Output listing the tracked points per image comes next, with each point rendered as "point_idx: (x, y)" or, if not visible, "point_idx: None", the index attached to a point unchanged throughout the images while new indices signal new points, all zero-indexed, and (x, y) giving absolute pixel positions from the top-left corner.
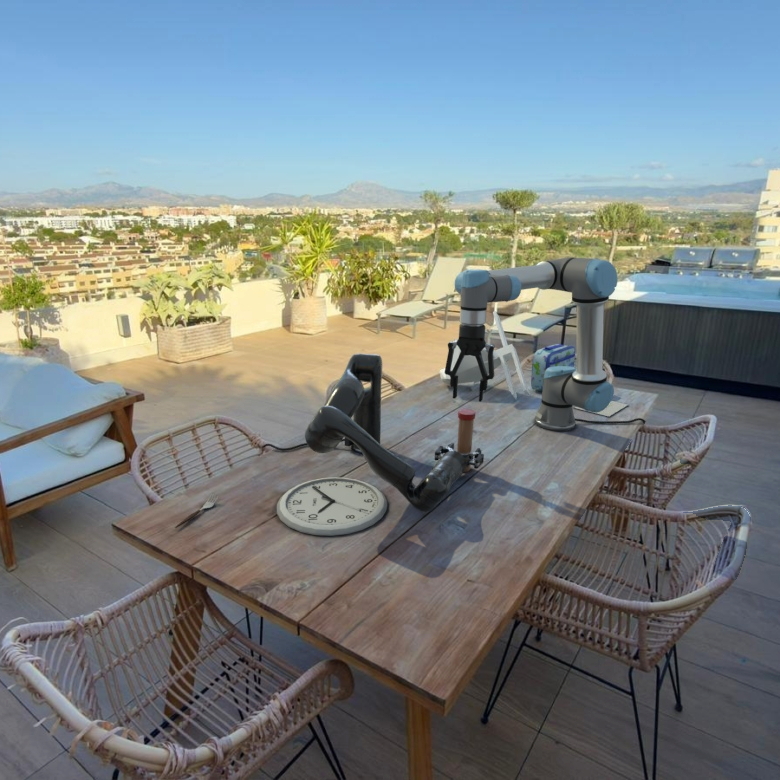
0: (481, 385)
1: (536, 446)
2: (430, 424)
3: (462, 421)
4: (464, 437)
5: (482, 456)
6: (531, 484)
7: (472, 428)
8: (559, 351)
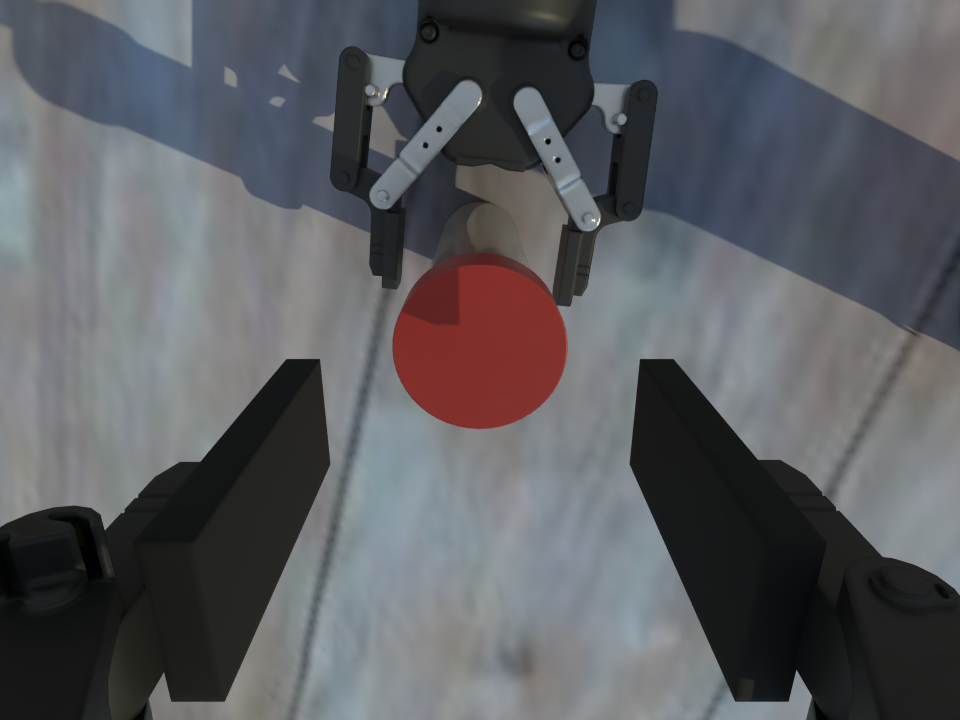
0: (203, 480)
1: None
2: None
3: None
4: (475, 233)
5: (333, 147)
6: (108, 186)
7: None
8: None
